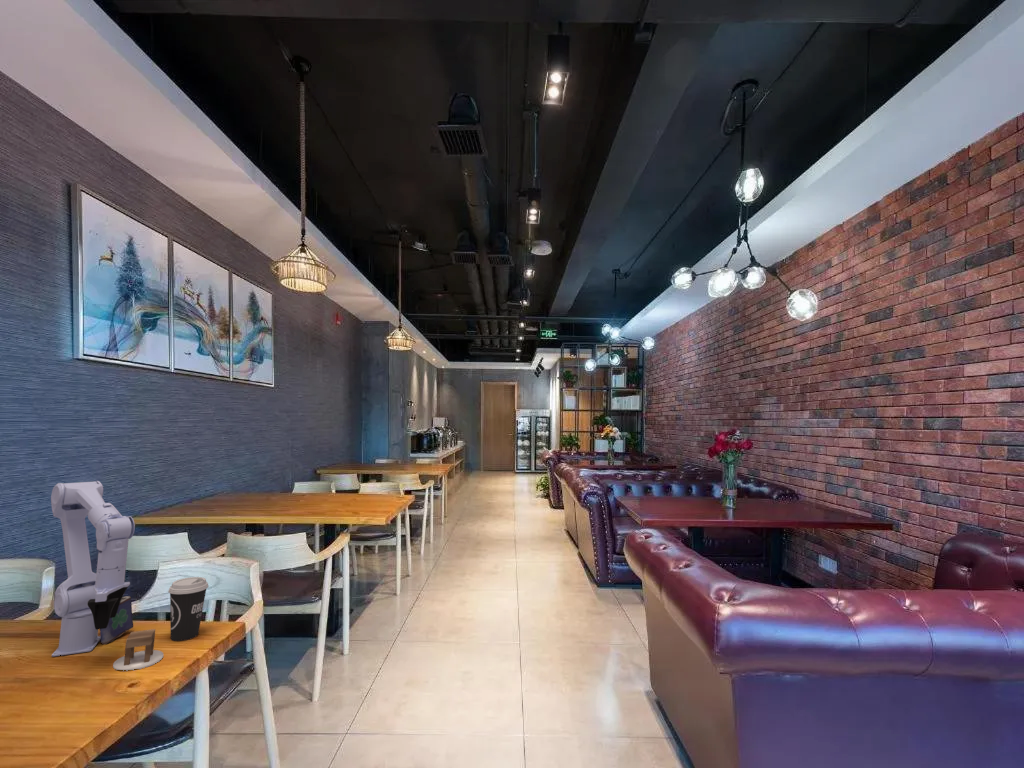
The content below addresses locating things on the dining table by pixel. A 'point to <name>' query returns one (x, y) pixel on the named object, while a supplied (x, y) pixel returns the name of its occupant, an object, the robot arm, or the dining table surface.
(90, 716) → the dining table surface
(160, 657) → the plate
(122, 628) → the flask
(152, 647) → the stool
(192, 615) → the coffee cup
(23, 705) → the dining table surface
